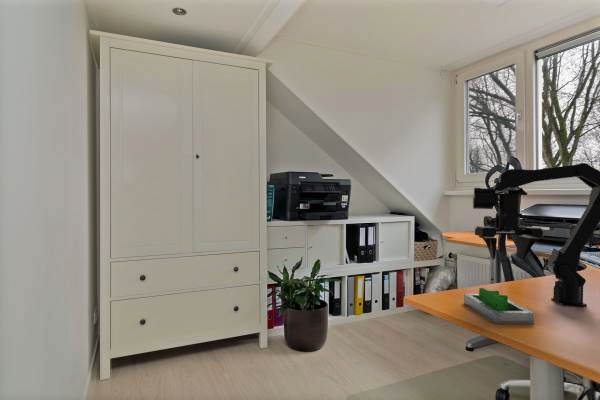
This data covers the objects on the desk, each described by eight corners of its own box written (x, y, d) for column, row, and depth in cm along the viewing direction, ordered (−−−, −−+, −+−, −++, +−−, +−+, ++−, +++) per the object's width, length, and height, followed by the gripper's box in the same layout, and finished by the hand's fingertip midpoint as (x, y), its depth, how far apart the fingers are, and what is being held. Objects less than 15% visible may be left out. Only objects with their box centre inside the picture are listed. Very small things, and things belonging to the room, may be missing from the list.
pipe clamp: (513, 316, 96) (514, 299, 96) (499, 316, 96) (499, 299, 96) (491, 303, 107) (492, 287, 107) (478, 303, 107) (479, 287, 107)
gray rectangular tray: (497, 303, 110) (497, 293, 109) (533, 324, 93) (534, 313, 92) (463, 303, 110) (464, 293, 109) (493, 323, 93) (494, 312, 92)
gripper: (523, 208, 123) (522, 254, 124) (467, 208, 123) (466, 254, 124) (545, 210, 112) (543, 261, 113) (484, 209, 112) (482, 260, 113)
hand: (507, 259), depth 116 cm, fingers open, 9 cm apart
